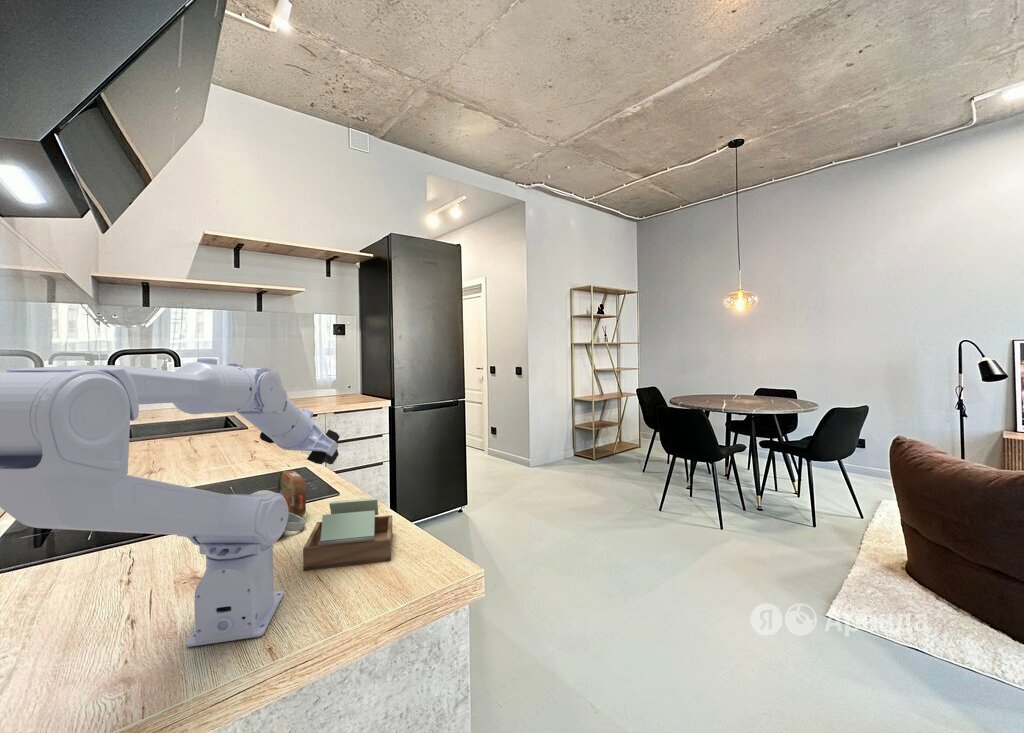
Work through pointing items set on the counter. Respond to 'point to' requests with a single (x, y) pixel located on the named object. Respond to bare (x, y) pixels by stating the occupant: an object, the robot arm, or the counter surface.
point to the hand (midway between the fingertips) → (315, 450)
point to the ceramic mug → (293, 520)
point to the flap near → (347, 527)
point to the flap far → (354, 506)
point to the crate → (349, 548)
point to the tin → (293, 491)
